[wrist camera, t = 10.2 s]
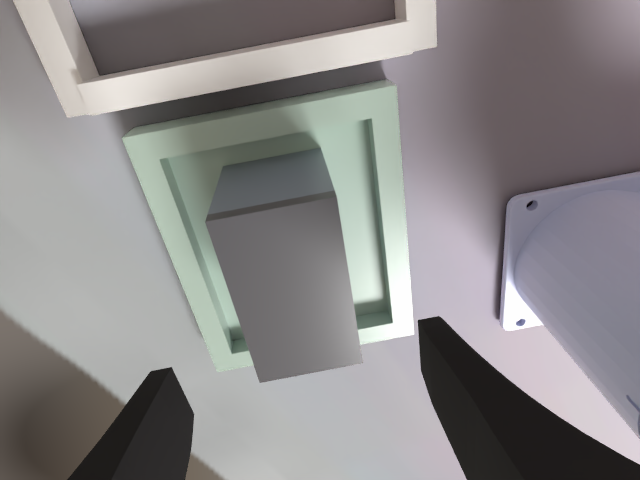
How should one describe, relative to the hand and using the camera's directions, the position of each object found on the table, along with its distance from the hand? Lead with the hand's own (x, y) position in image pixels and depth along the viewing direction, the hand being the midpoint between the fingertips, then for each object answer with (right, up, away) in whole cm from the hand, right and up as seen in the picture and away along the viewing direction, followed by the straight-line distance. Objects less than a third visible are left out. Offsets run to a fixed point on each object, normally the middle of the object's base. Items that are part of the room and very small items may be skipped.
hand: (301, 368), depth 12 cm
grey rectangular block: (-1, +4, +6) cm, 8 cm away
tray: (-1, +4, +7) cm, 8 cm away
